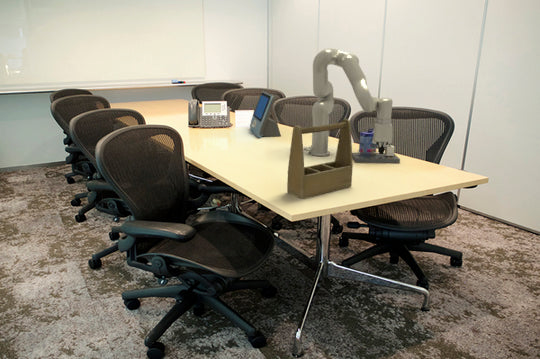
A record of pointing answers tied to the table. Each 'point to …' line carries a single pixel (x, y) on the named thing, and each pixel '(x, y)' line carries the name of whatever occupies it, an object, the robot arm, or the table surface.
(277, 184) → the table surface
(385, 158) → the panel
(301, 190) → the caddy
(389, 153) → the fader
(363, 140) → the ink cartridge box
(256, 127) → the touchscreen device
